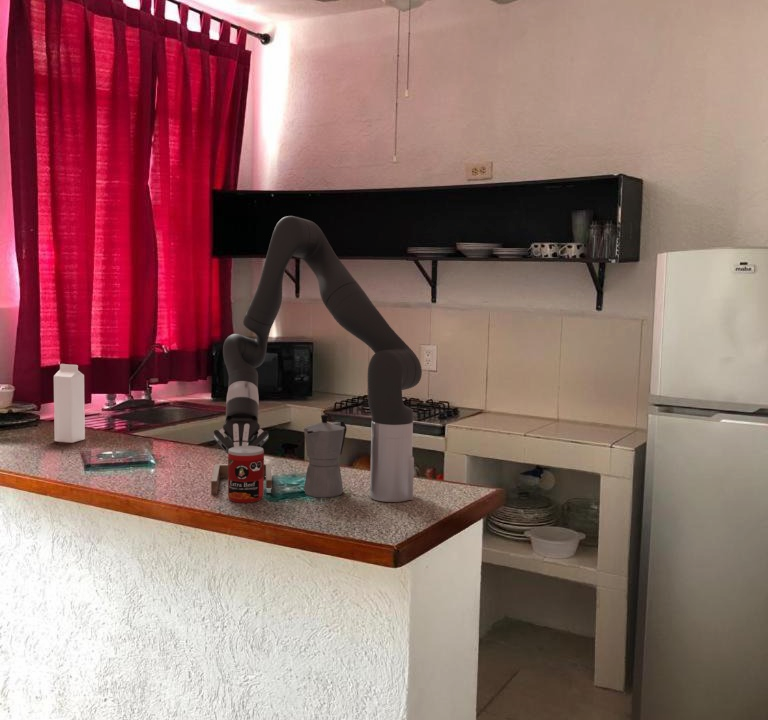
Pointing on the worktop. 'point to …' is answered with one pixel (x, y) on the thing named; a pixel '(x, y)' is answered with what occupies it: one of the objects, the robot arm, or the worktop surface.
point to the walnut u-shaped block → (222, 471)
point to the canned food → (245, 474)
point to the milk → (69, 404)
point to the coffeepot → (324, 458)
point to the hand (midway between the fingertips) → (239, 467)
